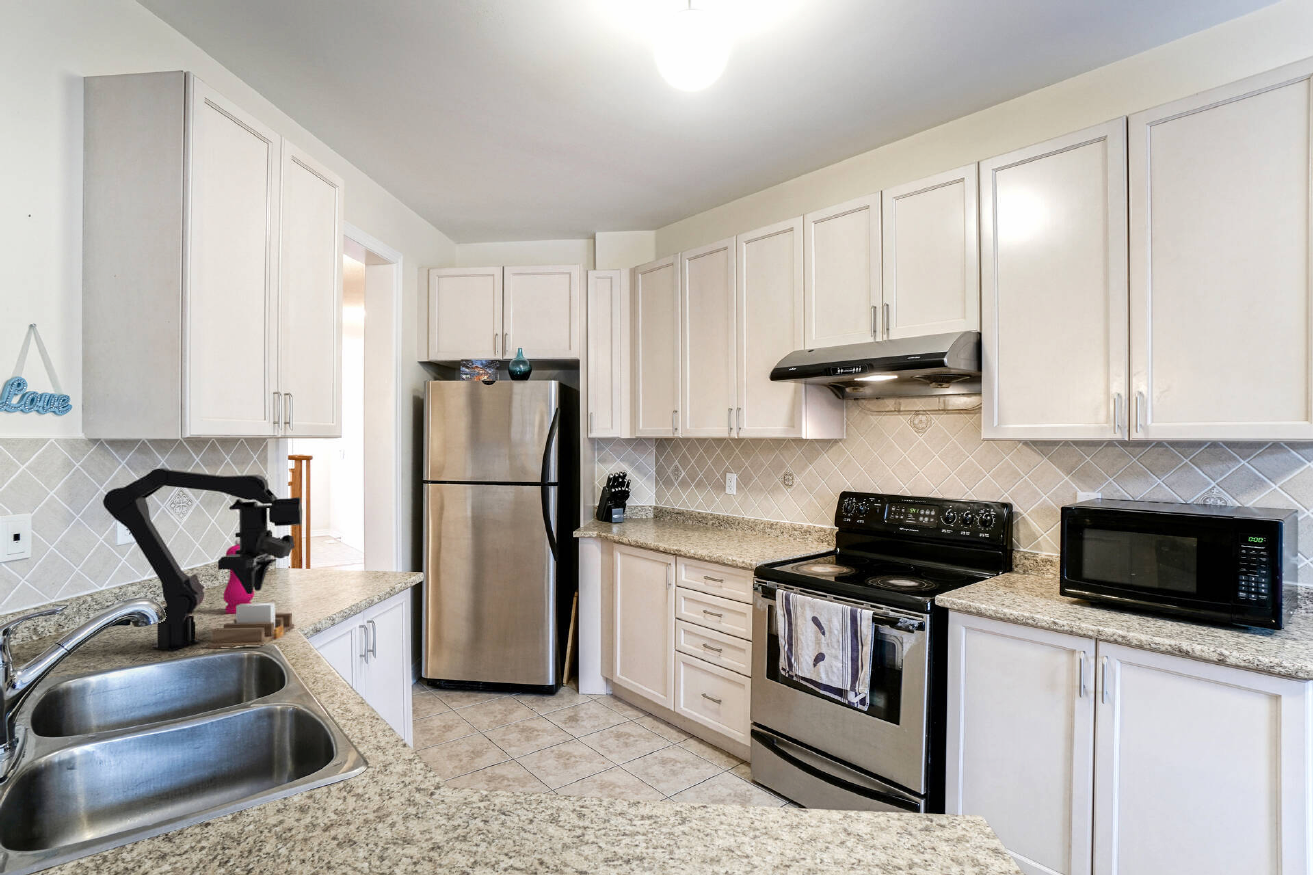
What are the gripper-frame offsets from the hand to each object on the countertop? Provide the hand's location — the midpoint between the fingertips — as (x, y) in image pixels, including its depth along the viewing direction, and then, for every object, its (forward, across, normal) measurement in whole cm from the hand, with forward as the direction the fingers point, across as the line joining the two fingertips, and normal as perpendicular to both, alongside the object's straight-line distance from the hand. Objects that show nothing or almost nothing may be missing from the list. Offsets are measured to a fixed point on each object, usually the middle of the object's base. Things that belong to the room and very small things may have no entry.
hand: (253, 592), depth 158 cm
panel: (+10, 0, 0) cm, 10 cm away
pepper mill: (+11, +26, +18) cm, 34 cm away
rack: (+11, 0, 0) cm, 11 cm away
